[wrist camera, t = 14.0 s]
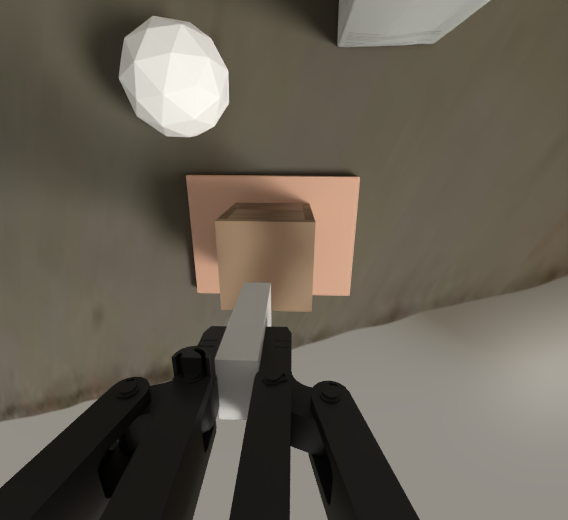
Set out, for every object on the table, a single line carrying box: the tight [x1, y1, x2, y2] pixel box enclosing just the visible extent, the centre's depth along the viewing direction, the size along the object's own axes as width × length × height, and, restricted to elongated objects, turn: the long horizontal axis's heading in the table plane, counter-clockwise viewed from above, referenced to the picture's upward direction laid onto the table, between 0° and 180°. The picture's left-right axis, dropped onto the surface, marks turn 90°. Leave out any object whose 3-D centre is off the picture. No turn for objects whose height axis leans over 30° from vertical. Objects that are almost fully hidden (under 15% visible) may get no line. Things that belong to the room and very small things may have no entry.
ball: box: [119, 16, 229, 137], centre depth 23 cm, size 8×8×8 cm
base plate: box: [186, 175, 360, 296], centre depth 30 cm, size 16×12×1 cm
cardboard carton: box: [215, 203, 316, 312], centre depth 26 cm, size 7×7×8 cm
